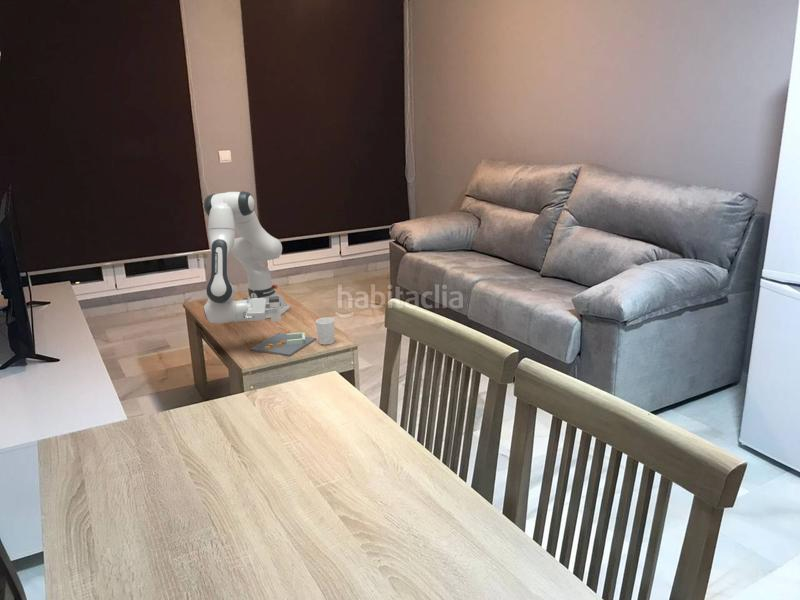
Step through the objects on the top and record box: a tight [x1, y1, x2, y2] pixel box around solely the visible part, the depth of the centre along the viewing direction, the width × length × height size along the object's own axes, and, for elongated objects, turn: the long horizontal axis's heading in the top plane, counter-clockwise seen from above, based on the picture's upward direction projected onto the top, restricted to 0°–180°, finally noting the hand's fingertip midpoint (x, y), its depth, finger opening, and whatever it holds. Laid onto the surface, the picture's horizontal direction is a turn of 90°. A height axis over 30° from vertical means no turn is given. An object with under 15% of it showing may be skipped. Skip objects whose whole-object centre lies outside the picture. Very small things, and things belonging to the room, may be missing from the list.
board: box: [250, 332, 317, 357], centre depth 282 cm, size 20×20×2 cm
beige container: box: [269, 296, 282, 323], centre depth 278 cm, size 4×4×10 cm
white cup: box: [315, 317, 336, 345], centre depth 282 cm, size 8×8×10 cm
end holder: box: [286, 331, 306, 345], centre depth 284 cm, size 8×9×2 cm
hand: (277, 307), depth 278 cm, fingers closed on beige container, 4 cm apart
